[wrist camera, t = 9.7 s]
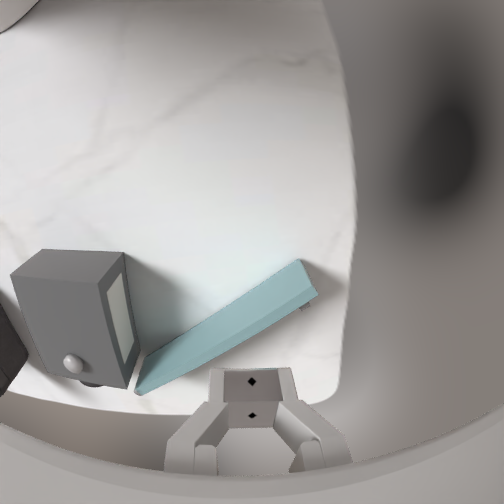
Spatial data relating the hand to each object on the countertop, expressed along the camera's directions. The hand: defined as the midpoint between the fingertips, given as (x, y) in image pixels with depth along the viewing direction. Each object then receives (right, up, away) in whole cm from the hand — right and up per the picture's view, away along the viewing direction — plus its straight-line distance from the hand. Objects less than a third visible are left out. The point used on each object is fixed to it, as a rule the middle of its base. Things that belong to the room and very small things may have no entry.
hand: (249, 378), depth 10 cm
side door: (-3, -2, +17) cm, 18 cm away
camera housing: (-17, -1, +16) cm, 24 cm away
